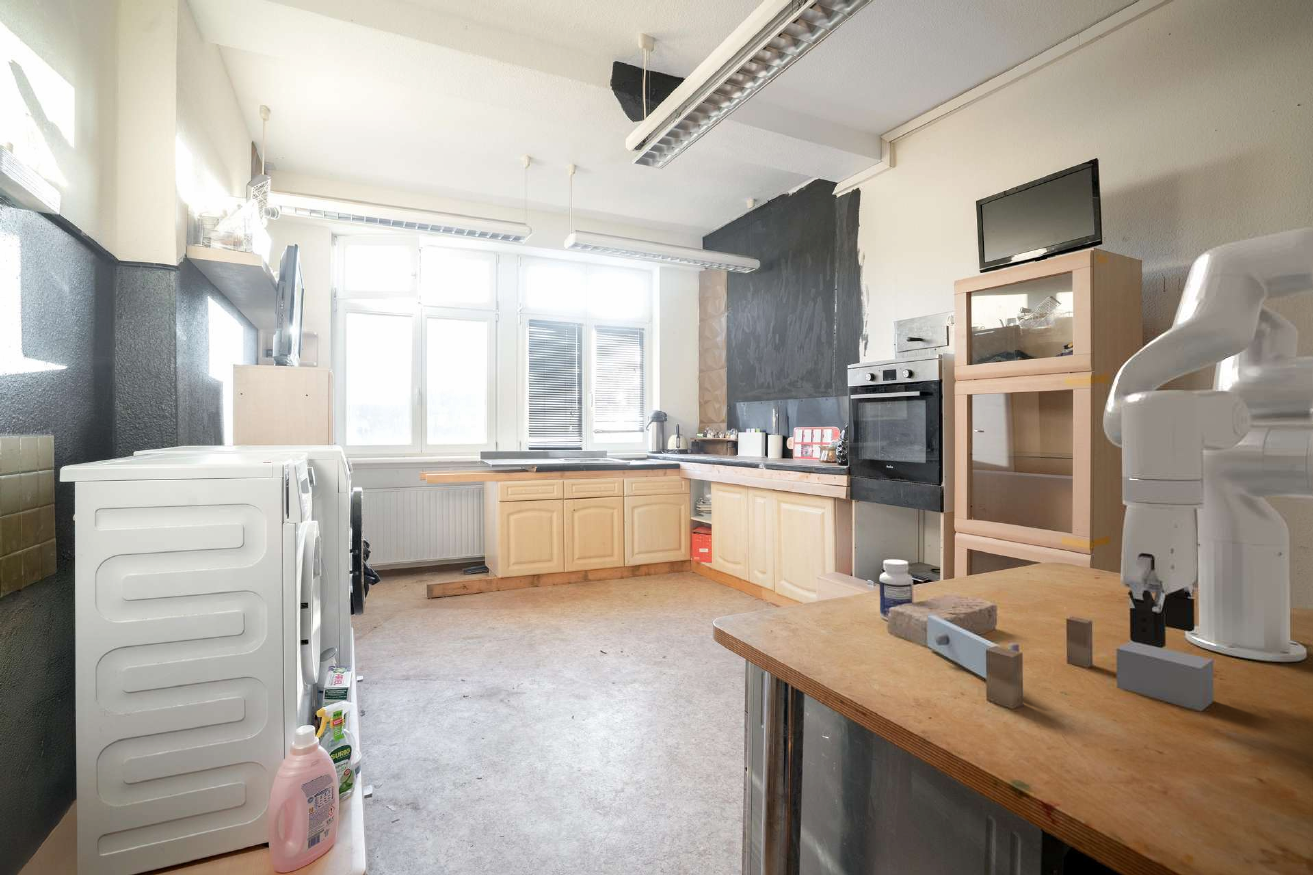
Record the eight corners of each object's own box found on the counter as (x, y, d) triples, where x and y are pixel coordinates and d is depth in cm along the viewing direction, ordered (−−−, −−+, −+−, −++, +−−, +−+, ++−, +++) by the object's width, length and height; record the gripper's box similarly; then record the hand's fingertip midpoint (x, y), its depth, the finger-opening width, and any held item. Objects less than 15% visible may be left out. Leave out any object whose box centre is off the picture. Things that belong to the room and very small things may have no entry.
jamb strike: (1072, 659, 85) (1072, 616, 85) (1092, 664, 83) (1092, 620, 83) (1066, 662, 84) (1066, 618, 84) (1086, 667, 82) (1086, 623, 82)
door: (1022, 695, 73) (1021, 645, 73) (1004, 697, 73) (1003, 646, 72) (934, 647, 89) (934, 606, 89) (920, 648, 89) (919, 607, 89)
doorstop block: (1131, 679, 78) (1131, 640, 78) (1213, 702, 71) (1213, 659, 71) (1117, 688, 76) (1116, 648, 75) (1201, 712, 69) (1200, 668, 69)
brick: (929, 650, 90) (928, 618, 90) (884, 633, 98) (884, 604, 98) (999, 632, 98) (999, 603, 98) (953, 618, 105) (953, 591, 105)
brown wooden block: (996, 694, 74) (996, 645, 74) (1023, 703, 71) (1022, 652, 71) (986, 699, 73) (985, 649, 73) (1012, 709, 70) (1012, 657, 70)
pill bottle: (884, 611, 108) (884, 557, 108) (917, 616, 105) (916, 560, 105) (876, 619, 104) (875, 562, 104) (909, 625, 101) (908, 566, 101)
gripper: (1150, 487, 81) (1151, 616, 81) (1094, 496, 72) (1096, 641, 72) (1225, 491, 75) (1226, 630, 75) (1175, 501, 65) (1177, 661, 65)
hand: (1163, 635), depth 73 cm, fingers open, 9 cm apart
